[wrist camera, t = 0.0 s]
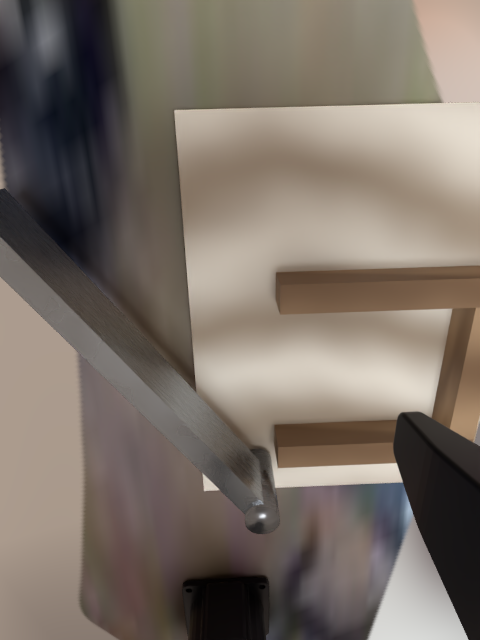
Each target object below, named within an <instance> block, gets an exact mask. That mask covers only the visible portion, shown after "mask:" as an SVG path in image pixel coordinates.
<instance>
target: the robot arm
mask: <svg viewBox="0 0 480 640" xmlns="http://www.w3.org/2000/svg"><path fill="white" fill-rule="evenodd" d="M393 452H394V456H395V460H396V463H397V466H398V469H399V472H400V475H401V478H402V481H403V484H404V487H405V490H406V493H407V496H408V499H409V502H410V505H411V508H412V511H413V514H414V517H415V520H416V523H417V525H418V528H419V530H420V533H421V535H422V538H423V540H424V542H425V544H426V546H427V548H428V551H429V553H430V555H431V557H432V560H433V562H434V564H435V566H436V568H437V571H438V573H439V575H440V577H441V580H442V582H443V584H444V586H445V588H446V591H447V593H448V595H449V597H450V599H451V602H452V604H453V606H454V608H455V611H456V613H457V615H458V617H459V619H460V622H461V624H462V626H463V628H464V630H465V633H466V635H467V637H468V639H469V640H480V446H478V445H477V444H475V443H473V442H472V441H470V440H468V439H467V438H465V437H463V436H461V435H460V434H458V433H456V432H455V431H453V430H451V429H449V428H448V427H446V426H444V425H443V424H441V423H439V422H437V421H436V420H434V419H432V418H431V417H429V416H427V415H425V414H424V413H422V412H419V411H414V412H401V413H400V414H399V415H398V417H397V423H396V429H395V436H394V442H393ZM182 592H183V601H184V609H185V617H186V625H187V634H188V640H266V635H267V634H268V633H269V583H268V580H267V579H266V578H242V579H221V580H199V581H186V582H184V584H183V589H182Z"/></svg>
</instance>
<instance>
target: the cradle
mask: <svg viewBox="0 0 480 640" xmlns="http://www.w3.org/2000/svg"><path fill="white" fill-rule="evenodd" d="M174 113H175V126H176V139H177V152H178V164H179V177H180V190H181V203H182V215H183V228H184V241H185V254H186V267H187V279H188V292H189V305H190V318H191V330H192V343H193V356H194V369H195V381H196V393H197V394H198V395H199V396H200V397H201V398H202V399H203V401H204V402H205V403H206V404H207V405H208V406H209V407H210V408H211V409H212V410H213V411H214V412H215V413H216V414H217V415H218V417H219V418H220V419H221V420H222V421H223V422H224V423H225V424H226V425H227V426H228V427H229V428H230V429H231V430H232V431H233V433H234V434H235V435H236V436H237V437H238V438H239V439H240V440H241V441H242V442H243V443H244V444H245V445H246V446H247V447H248V449H249V450H252V449H263V450H265V451H267V452H268V453H269V454H270V456H271V460H272V467H273V474H274V481H275V488H280V487H303V486H326V485H349V484H372V483H396V482H403V481H402V478H401V475H400V472H399V469H398V466H397V463H396V460H395V456H394V452H393V442H394V436H395V429H396V423H397V417H398V415H399V414H400V413H401V412H414V411H419V412H422V413H424V414H425V415H427V416H429V417H431V418H432V419H434V420H436V421H437V422H439V423H441V424H443V425H444V426H446V427H448V428H449V429H451V430H453V431H455V432H456V433H458V434H460V435H461V436H463V437H465V438H467V439H468V440H470V441H472V442H473V443H474V441H475V437H476V433H477V429H478V425H479V421H480V102H471V103H470V102H466V103H427V104H388V105H349V106H311V107H272V108H233V109H195V110H174ZM203 484H204V491H211V490H219V489H218V488H217V487H216V486H215V485H214V484H213V483H212V482H211V481H210V480H209V479H208V478H207V477H206V476H205V475H204V474H203Z"/></svg>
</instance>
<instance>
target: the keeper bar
mask: <svg viewBox="0 0 480 640" xmlns="http://www.w3.org/2000/svg"><path fill="white" fill-rule="evenodd" d="M0 277H1V278H2V279H3V280H4V281H5V282H6V283H8V284H9V286H11V287H12V288H13V289H14V290H15V291H16V292H17V293H18V294H19V295H20V296H21V297H22V298H23V299H24V300H25V301H26V302H27V303H28V304H29V305H30V306H31V307H32V308H33V309H34V310H35V311H36V312H37V313H38V314H39V315H41V317H43V319H45V321H47V322H48V323H49V324H50V325H51V326H52V327H53V328H54V329H55V330H56V331H57V332H58V333H59V334H60V335H61V336H62V337H63V338H64V339H65V340H66V341H67V342H68V343H69V344H70V345H71V346H72V347H73V348H74V349H75V350H76V351H77V352H78V353H79V354H80V355H81V356H83V357H84V358H85V359H86V360H87V361H88V362H89V363H90V364H91V365H92V366H93V367H94V368H95V369H96V370H97V371H98V372H99V373H100V374H101V375H102V376H103V377H104V378H105V379H106V380H107V381H108V382H109V383H110V384H111V385H112V386H113V387H114V388H115V389H116V390H118V391H119V392H120V393H121V394H122V395H123V396H124V397H125V398H126V399H127V400H128V401H129V402H130V403H131V404H132V405H133V406H134V407H135V408H136V409H137V410H138V411H139V412H140V413H141V414H142V415H143V416H144V417H145V418H146V419H147V420H148V421H149V422H150V423H151V424H153V425H154V426H155V427H156V428H157V429H158V430H159V431H160V432H161V433H162V434H163V435H164V436H165V437H166V438H167V439H168V440H169V441H170V442H171V443H172V444H173V445H174V446H175V447H176V448H177V449H178V450H179V451H180V452H181V453H182V454H183V455H184V456H185V457H186V458H187V459H189V460H190V461H191V462H192V463H193V464H194V465H195V466H196V467H197V468H198V469H199V470H200V471H201V472H202V473H203V474H204V475H205V476H206V477H207V478H208V479H209V480H210V481H211V482H212V483H213V484H214V485H215V486H216V487H217V488H218V489H219V490H220V491H221V492H222V493H224V494H225V495H226V496H227V497H228V498H229V499H230V500H231V501H232V502H233V503H234V504H235V505H236V506H237V507H238V508H239V509H240V510H241V511H242V512H243V513H244V514H245V524H246V527H247V528H248V529H249V530H250V531H251V532H253V533H257V534H267V533H270V532H272V531H274V530H275V529H276V528H277V527H278V526H279V524H280V517H279V510H278V502H277V495H276V488H275V481H274V474H273V467H272V460H271V456H270V454H269V453H268V452H267V451H265V450H263V449H252V450H249V449H248V447H247V446H246V445H245V444H244V443H243V442H242V441H241V440H240V439H239V438H238V437H237V436H236V435H235V434H234V433H233V431H232V430H231V429H230V428H229V427H228V426H227V425H226V424H225V423H224V422H223V421H222V420H221V419H220V418H219V417H218V415H217V414H216V413H215V412H214V411H213V410H212V409H211V408H210V407H209V406H208V405H207V404H206V403H205V402H204V401H203V399H202V398H201V397H200V396H199V395H198V394H197V393H196V392H195V391H194V390H193V389H192V388H191V387H190V386H189V385H188V383H187V382H186V381H185V380H184V379H183V378H182V377H181V376H180V375H179V374H178V373H177V372H176V371H175V370H174V369H173V367H172V366H171V365H170V364H169V363H168V362H167V361H166V360H165V359H164V358H163V357H162V356H161V355H160V354H159V353H158V351H157V350H156V349H155V348H154V347H153V346H152V345H151V344H150V343H149V342H148V341H147V340H146V339H145V338H144V337H143V335H142V334H141V333H140V332H139V331H138V330H137V329H136V328H135V327H134V326H133V325H132V324H131V323H130V322H129V321H128V319H127V318H126V317H125V316H124V315H123V314H122V313H121V312H120V311H119V310H118V309H117V308H116V307H115V306H114V305H113V303H112V302H111V301H110V300H109V299H108V298H107V297H106V296H105V295H104V294H103V293H102V292H101V291H100V290H99V289H98V287H97V286H96V285H95V284H94V283H93V282H92V281H91V280H90V279H89V278H88V277H87V276H86V275H85V274H84V273H83V271H82V270H81V269H80V268H79V267H78V266H77V265H76V264H75V263H74V262H73V261H72V260H71V259H70V258H69V257H68V255H67V254H66V253H65V252H64V251H63V250H62V249H61V248H60V247H59V246H58V245H57V244H56V243H55V242H54V241H53V239H52V238H51V237H50V236H49V235H48V234H47V233H46V232H45V231H44V230H43V229H42V228H41V227H40V226H39V225H38V223H37V222H36V221H35V220H34V219H33V218H32V217H31V216H30V215H29V214H28V213H27V212H26V211H25V210H24V209H23V207H22V206H21V205H20V204H19V203H18V202H17V201H16V200H15V199H14V198H13V197H12V196H11V195H10V194H9V192H8V191H7V190H6V189H5V188H4V189H0Z"/></svg>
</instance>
